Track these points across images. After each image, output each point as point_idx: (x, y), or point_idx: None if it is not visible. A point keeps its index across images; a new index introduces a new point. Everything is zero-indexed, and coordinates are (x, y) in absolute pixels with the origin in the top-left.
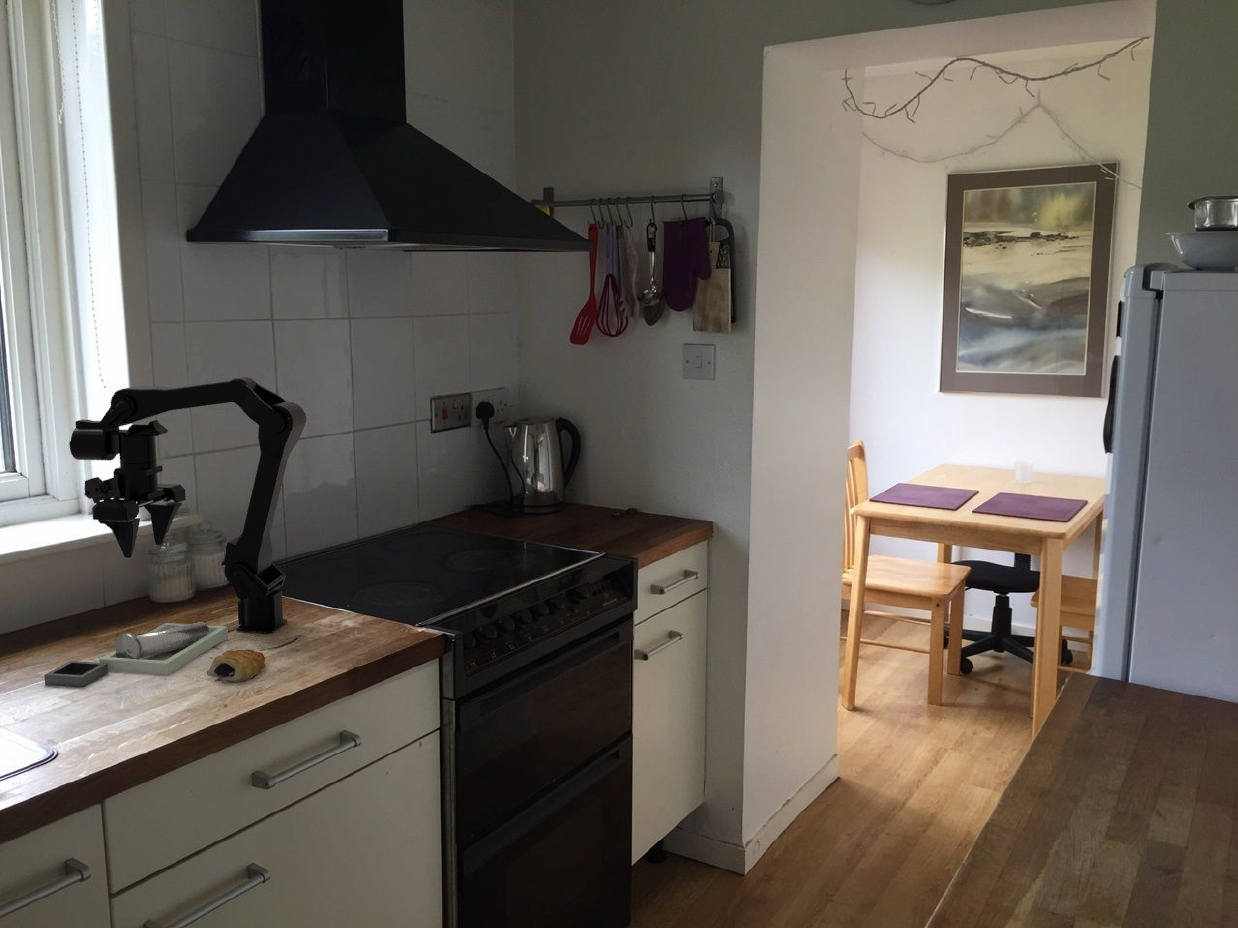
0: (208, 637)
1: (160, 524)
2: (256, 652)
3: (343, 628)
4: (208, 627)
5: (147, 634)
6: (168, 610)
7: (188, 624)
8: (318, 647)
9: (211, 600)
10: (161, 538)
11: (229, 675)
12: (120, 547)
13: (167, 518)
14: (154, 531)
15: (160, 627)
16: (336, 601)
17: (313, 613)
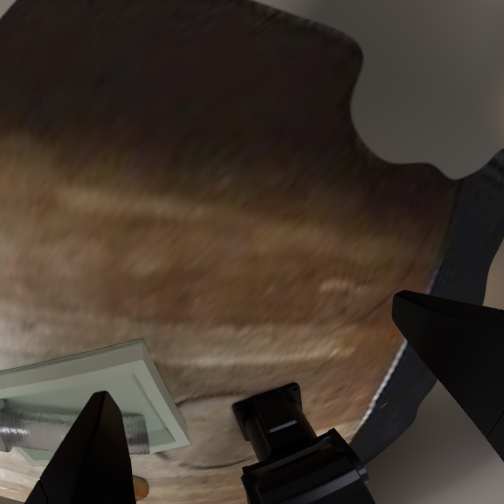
0: (132, 455)
1: (472, 377)
2: (137, 499)
3: None
4: (169, 430)
5: (30, 446)
6: (307, 183)
7: (162, 398)
8: (224, 485)
9: (389, 218)
10: (412, 341)
11: None
12: (65, 438)
13: (485, 423)
14: (447, 326)
15: (114, 372)
16: (399, 383)
17: (348, 406)
